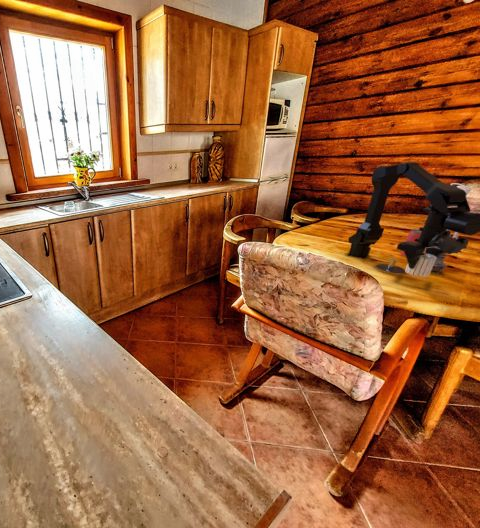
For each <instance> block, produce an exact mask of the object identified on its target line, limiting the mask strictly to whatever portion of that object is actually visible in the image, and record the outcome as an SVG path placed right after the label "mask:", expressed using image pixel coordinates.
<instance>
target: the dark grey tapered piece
mask: <svg viewBox="0 0 480 528" xmlns="http://www.w3.org/2000/svg"><path fill="white" fill-rule="evenodd" d="M446 257H447V254H446V253H443V254H441V255H440V256H439V257H438V258H437V259H436V261H435V263H434V265H433V268H432V270H431V272H430V274H431V273H432V274H441V273H442V272H441V271H443V270H444V269H445V268H446V267H447V266H448V265H447V264H446V263H444V261H445V258H446Z"/></svg>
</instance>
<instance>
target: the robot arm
mask: <svg viewBox="0 0 480 528" xmlns="http://www.w3.org/2000/svg"><path fill="white" fill-rule="evenodd" d="M371 175H372V176H371V184H372V187H373V191H372V194H371V198H370V201H369V203H368V204H369V205H368V208H367V212H366V215H365V217H364V221H363V222H362V223H361V224H360V225H359V226H358V227H357V229H356V232H355V233H354V234H353V235H351V236H350V237H348V243H349V244H350V249H349V251H348V253H347V256H348V257H354V258H358V259H363V260H365V259H366V258H368V257H369V256H370V253H371V250H372V247H371V246H372V245H375V244H376V243H377V242H378V241H380V239H381V238H383V233H384V231H385V227H382V226H381V224H380V222H381V218H382V215H383V212H384V209H385V206H386V203H387V200H388V196H389V194H390V190H391V189H392V188H393V187H394V186H395V185H396V184H397V183H398V181H399V179H400V177H403V176H404V177H405V178H407V179H408V180H409V181H410V182H411V183H413V184H414V185H415V186H417V187H418V188H419V189H420V190H421V191H423V193H424V194H425V199H426V201H428V203H429V204H430V205H429V206H427V207H425V208H423V209H422V210H423V212H427V213H428V215H427V217H426V219H425V222H424V224H423V226H422V227H419V230H420V231H422V232H421V235H420V237H419V238H416V239H415V241H416V242H418V243H419V244H418V243H415V242H411V241H406V240H405V241H406V242H405V241H401V242H399V243H398V244H397V246H396V250H399V251H401V252H402V251H404V253H405V255H406V257H405V258H406V261H407V264H408V265H409V268H411V269H413V268H414V267H415V265H416V264H417V262H418V260H419V258H420V257H421V256H423V255H426V254H425V253H427V254H431V255H434V256H436V257H437V258H438V257H439V256H440V255H441V254H443V253H446V255H452V254H458V253H460V252H461V251H462V250H464V249H467V247H468V244H469V241H470V239H469V238H467V237H463V236H462V237H458V238H457V239H456V238H453V236H451V233H452V232H454V233H455V232H458V233H459V234H462V235H466V236H474V235H476V234H478V233H479V232H480V212H472V210H471V207H470V204H469V201H468V198H467V199H466V195H467V196H468V194H466V192H465V191H464V190H462V189H460V188H458V187H457V186H456V185H454V184H452V185H451V184H449V183H445V182H443V181H442V180H440V179H438V178H437V177H436V176H434V175H433V173H431V172H429V171H428V170H426V169H424V168H423V167H422V166H421V165H420V164H419V162H416V161H409V162H402V163H399V164H393V165H382V166H381V165H380V166H377V167H376V168H375V169H373V171H372V174H371ZM452 206H457V207H452ZM447 229H448V230H447ZM449 230H451V231H449Z"/></svg>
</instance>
